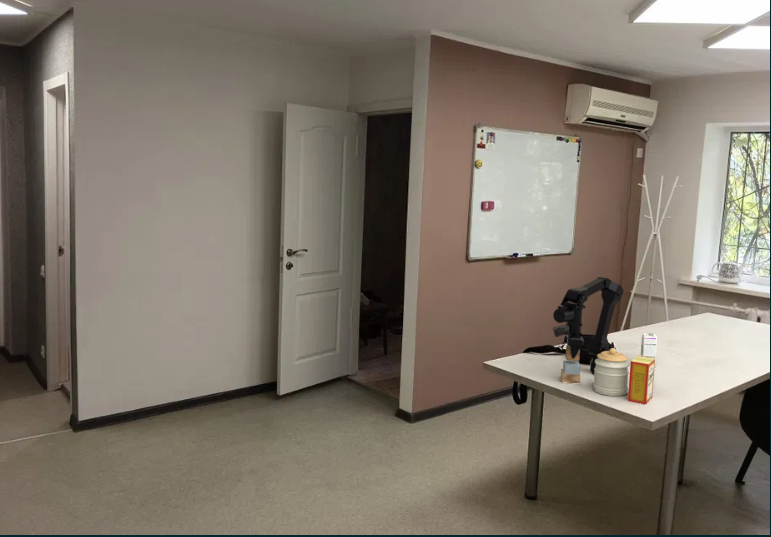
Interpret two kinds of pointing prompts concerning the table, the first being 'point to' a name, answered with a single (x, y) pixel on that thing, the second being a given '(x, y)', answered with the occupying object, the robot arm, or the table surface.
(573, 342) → the robot arm
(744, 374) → the table surface
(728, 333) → the table surface
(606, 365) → the jar
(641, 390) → the baking soda box
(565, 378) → the oak block
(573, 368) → the grey block
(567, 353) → the walnut cube
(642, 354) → the syrup box
